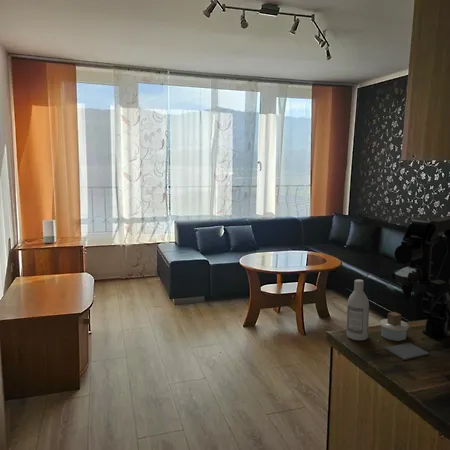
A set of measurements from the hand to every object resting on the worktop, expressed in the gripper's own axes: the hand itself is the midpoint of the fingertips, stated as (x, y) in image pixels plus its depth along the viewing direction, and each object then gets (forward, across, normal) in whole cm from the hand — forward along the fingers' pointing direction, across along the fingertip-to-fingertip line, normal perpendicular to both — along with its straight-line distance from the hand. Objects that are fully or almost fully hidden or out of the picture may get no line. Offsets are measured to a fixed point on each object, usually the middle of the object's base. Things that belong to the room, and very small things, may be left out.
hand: (418, 306), depth 130 cm
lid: (+10, -8, -2) cm, 13 cm away
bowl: (+13, -8, -2) cm, 15 cm away
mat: (+13, +3, -7) cm, 15 cm away
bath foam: (+13, -12, -14) cm, 23 cm away
